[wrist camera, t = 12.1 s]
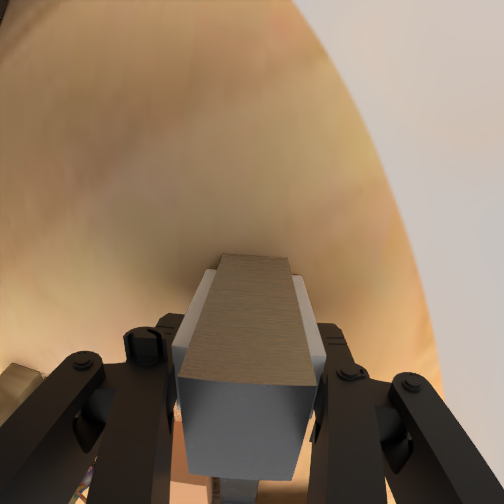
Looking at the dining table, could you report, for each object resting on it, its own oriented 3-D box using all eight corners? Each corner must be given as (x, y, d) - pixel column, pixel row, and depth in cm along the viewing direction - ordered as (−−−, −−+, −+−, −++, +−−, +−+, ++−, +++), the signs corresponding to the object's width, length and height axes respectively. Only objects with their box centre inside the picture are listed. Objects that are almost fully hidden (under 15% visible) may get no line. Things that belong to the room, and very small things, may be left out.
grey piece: (136, 247, 15) (24, 344, 6) (287, 257, 15) (316, 385, 6) (168, 475, 21) (146, 564, 12) (257, 485, 21) (255, 578, 12)
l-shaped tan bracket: (23, 391, 19) (-19, 445, 12) (12, 362, 18) (-38, 416, 11) (130, 423, 19) (98, 500, 12) (122, 393, 18) (82, 474, 11)
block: (142, 415, 19) (120, 470, 14) (215, 425, 19) (206, 486, 14) (152, 455, 20) (137, 505, 15) (216, 465, 20) (209, 518, 15)
